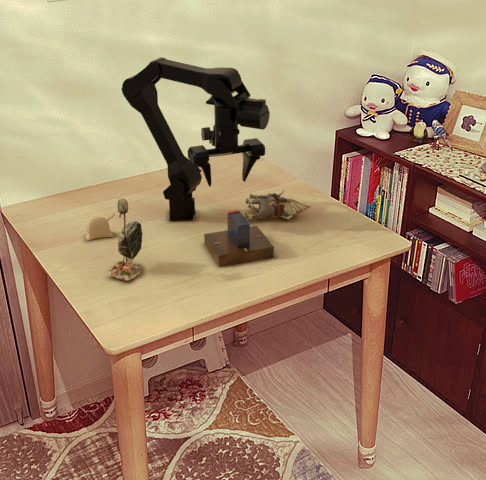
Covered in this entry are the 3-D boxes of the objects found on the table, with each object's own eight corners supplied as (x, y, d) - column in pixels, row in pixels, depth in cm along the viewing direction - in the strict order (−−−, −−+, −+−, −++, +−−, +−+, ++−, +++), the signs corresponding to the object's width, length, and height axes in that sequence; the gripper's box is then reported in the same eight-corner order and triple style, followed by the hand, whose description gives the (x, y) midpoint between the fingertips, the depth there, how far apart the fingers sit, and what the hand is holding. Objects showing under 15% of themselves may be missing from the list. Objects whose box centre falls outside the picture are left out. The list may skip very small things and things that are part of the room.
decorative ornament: (84, 234, 187) (81, 215, 184) (116, 229, 189) (114, 211, 186) (86, 241, 184) (84, 222, 181) (118, 236, 186) (116, 217, 183)
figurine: (252, 180, 201) (313, 185, 198) (251, 201, 204) (311, 205, 201) (241, 206, 184) (307, 211, 181) (240, 228, 187) (305, 234, 184)
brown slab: (219, 267, 171) (218, 255, 170) (204, 244, 181) (204, 233, 179) (273, 257, 175) (274, 246, 173) (256, 235, 184) (256, 224, 183)
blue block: (249, 246, 173) (249, 222, 170) (237, 248, 173) (238, 224, 169) (238, 232, 180) (238, 209, 176) (227, 233, 179) (227, 211, 176)
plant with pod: (156, 266, 173) (150, 188, 161) (124, 286, 165) (117, 206, 154) (130, 256, 177) (123, 180, 165) (98, 276, 169) (89, 198, 158)
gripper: (251, 109, 183) (250, 167, 191) (180, 117, 178) (183, 176, 187) (266, 122, 174) (265, 183, 182) (192, 132, 169) (195, 193, 178)
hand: (226, 183), depth 183 cm, fingers open, 9 cm apart
